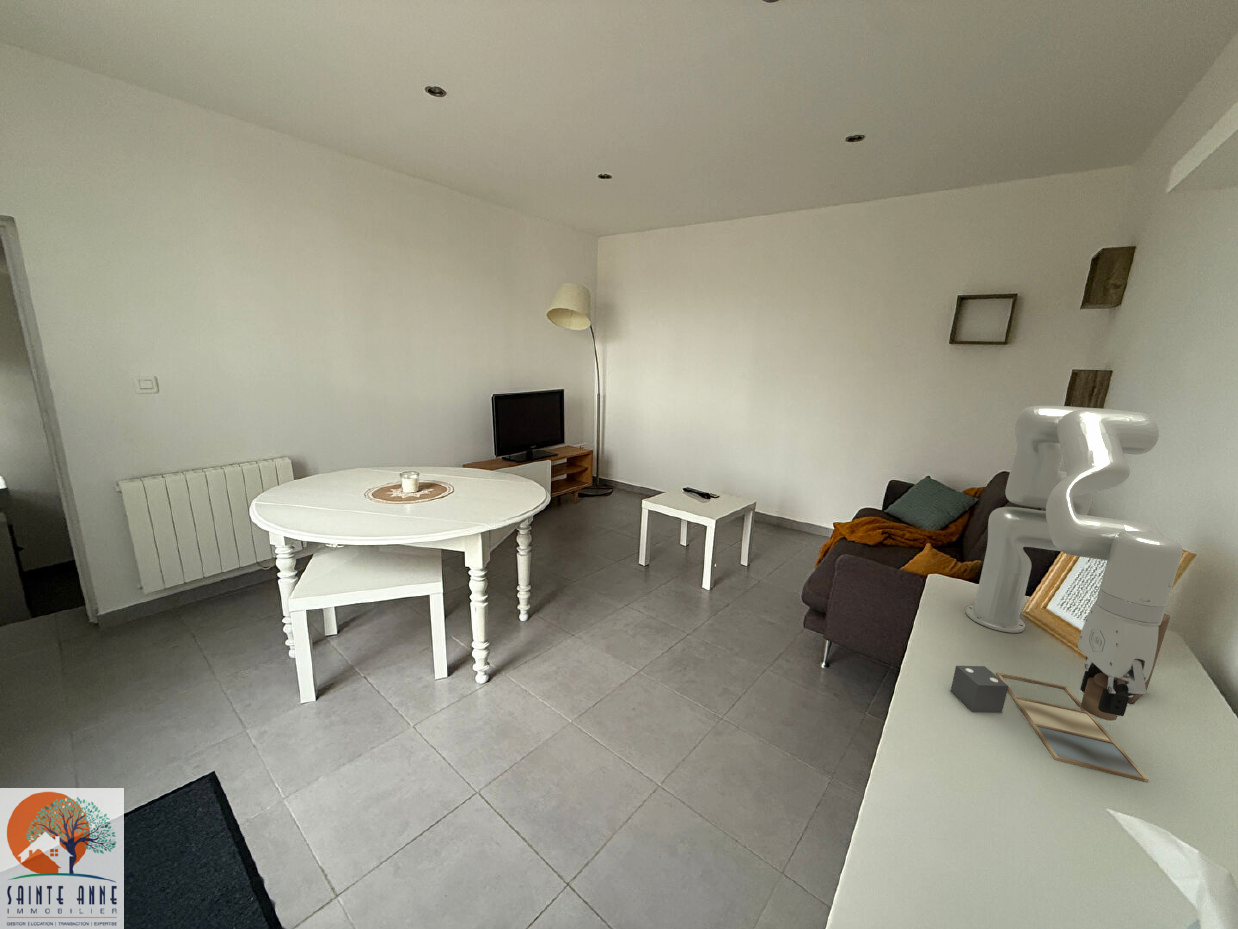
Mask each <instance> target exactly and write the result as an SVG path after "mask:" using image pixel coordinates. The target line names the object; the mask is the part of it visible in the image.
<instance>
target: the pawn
mask: <svg viewBox="0 0 1238 929" xmlns="http://www.w3.org/2000/svg"><path fill="white" fill-rule="evenodd" d="M1108 677H1109V676H1107V675H1106V674H1105V673H1098V674H1096V675H1095V676H1094V678H1089V679H1088V681H1087V685H1086V688H1085V692H1083V695H1082V700H1081V701H1080V702H1081V706H1082V708H1083V709H1084V710H1085V711H1087V712H1088V713H1090V714H1091V715H1092V716H1093V717H1096V718H1098V719H1102V720H1105V721H1109V722H1110V721H1116V720H1117V719H1118V718H1117V717H1118V715H1114V714H1109V713H1104V712H1101V711H1100V710H1099V709H1098V706H1099V703H1100V699H1101V696H1102V692H1103V689H1107V686H1108ZM1119 684H1120V682H1119V681H1118V680H1117V685H1119Z"/></svg>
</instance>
